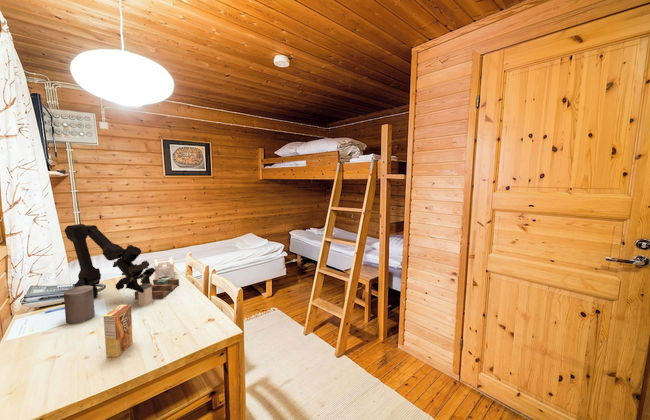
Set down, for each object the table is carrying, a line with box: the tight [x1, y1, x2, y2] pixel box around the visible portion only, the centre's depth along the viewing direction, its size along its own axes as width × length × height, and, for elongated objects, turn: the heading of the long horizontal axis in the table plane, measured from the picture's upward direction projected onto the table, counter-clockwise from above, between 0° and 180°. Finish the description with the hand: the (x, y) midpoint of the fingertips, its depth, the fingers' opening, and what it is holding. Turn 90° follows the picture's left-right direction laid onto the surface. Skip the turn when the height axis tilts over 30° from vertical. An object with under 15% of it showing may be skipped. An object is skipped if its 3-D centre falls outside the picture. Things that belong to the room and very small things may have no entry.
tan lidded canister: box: [138, 282, 153, 307], centre depth 135 cm, size 4×4×10 cm
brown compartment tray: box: [134, 278, 180, 301], centre depth 149 cm, size 14×18×5 cm
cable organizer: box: [153, 256, 175, 280], centre depth 172 cm, size 15×11×12 cm
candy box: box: [103, 304, 134, 358], centre depth 98 cm, size 9×4×15 cm, turn 6°
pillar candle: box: [63, 286, 96, 325], centre depth 119 cm, size 10×10×15 cm
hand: (147, 290), depth 134 cm, fingers open, 4 cm apart
